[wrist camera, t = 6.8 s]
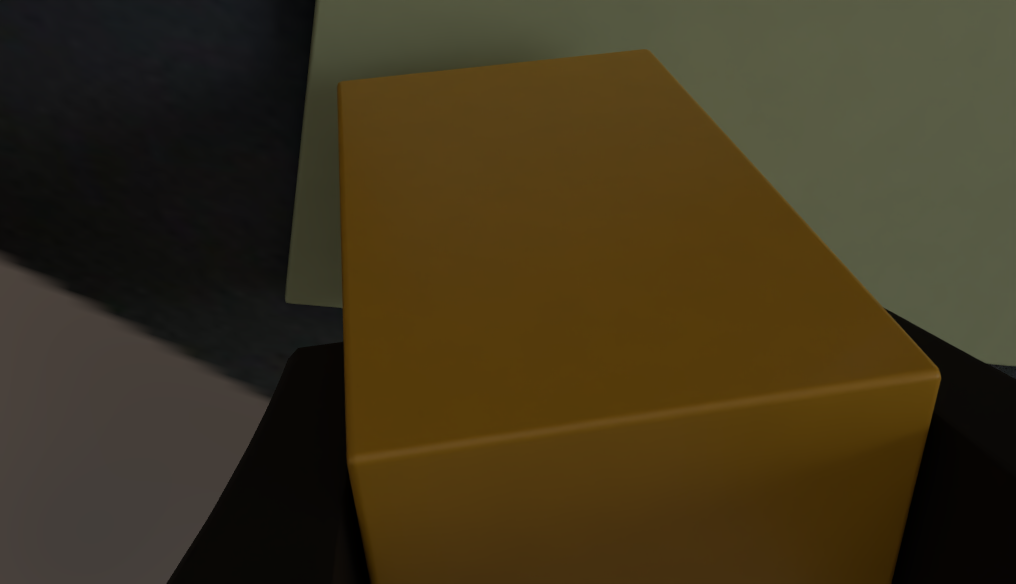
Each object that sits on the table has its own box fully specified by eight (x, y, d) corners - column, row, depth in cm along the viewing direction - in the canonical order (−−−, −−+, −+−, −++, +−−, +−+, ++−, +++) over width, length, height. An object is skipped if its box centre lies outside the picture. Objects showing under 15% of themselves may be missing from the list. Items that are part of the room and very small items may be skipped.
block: (376, 342, 14) (413, 813, 8) (335, 80, 12) (345, 461, 6) (641, 306, 14) (859, 727, 8) (649, 46, 12) (948, 371, 6)
